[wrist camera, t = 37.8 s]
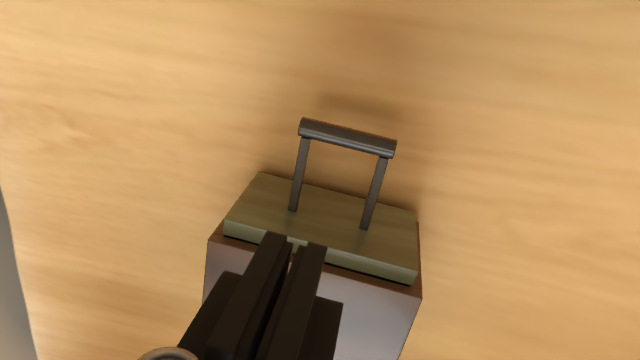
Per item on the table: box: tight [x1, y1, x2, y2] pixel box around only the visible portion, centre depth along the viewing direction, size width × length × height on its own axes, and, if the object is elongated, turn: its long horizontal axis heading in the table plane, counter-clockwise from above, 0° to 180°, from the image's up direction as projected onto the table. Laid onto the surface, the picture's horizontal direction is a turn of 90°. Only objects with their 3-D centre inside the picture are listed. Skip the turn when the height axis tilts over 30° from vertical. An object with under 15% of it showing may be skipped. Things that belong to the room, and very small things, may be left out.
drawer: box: [223, 117, 418, 286], centre depth 32 cm, size 21×12×7 cm, turn 169°
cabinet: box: [202, 180, 422, 360], centre depth 34 cm, size 16×14×9 cm
